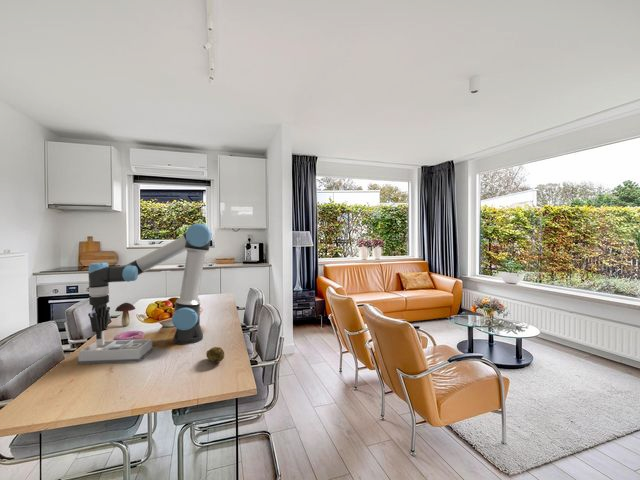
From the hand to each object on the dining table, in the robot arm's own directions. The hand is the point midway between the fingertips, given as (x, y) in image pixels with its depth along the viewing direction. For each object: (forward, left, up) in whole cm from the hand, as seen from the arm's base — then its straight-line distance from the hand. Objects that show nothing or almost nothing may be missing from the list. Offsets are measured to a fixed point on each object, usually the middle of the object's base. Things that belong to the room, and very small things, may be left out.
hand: (100, 344), depth 141 cm
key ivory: (-15, 0, -3) cm, 16 cm away
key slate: (-7, 0, -3) cm, 8 cm away
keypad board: (-7, 0, -6) cm, 10 cm away
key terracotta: (+1, 0, -5) cm, 5 cm away
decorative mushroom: (+15, -51, -6) cm, 53 cm away
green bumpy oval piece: (-55, +12, -6) cm, 57 cm away
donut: (-3, -19, -6) cm, 20 cm away
